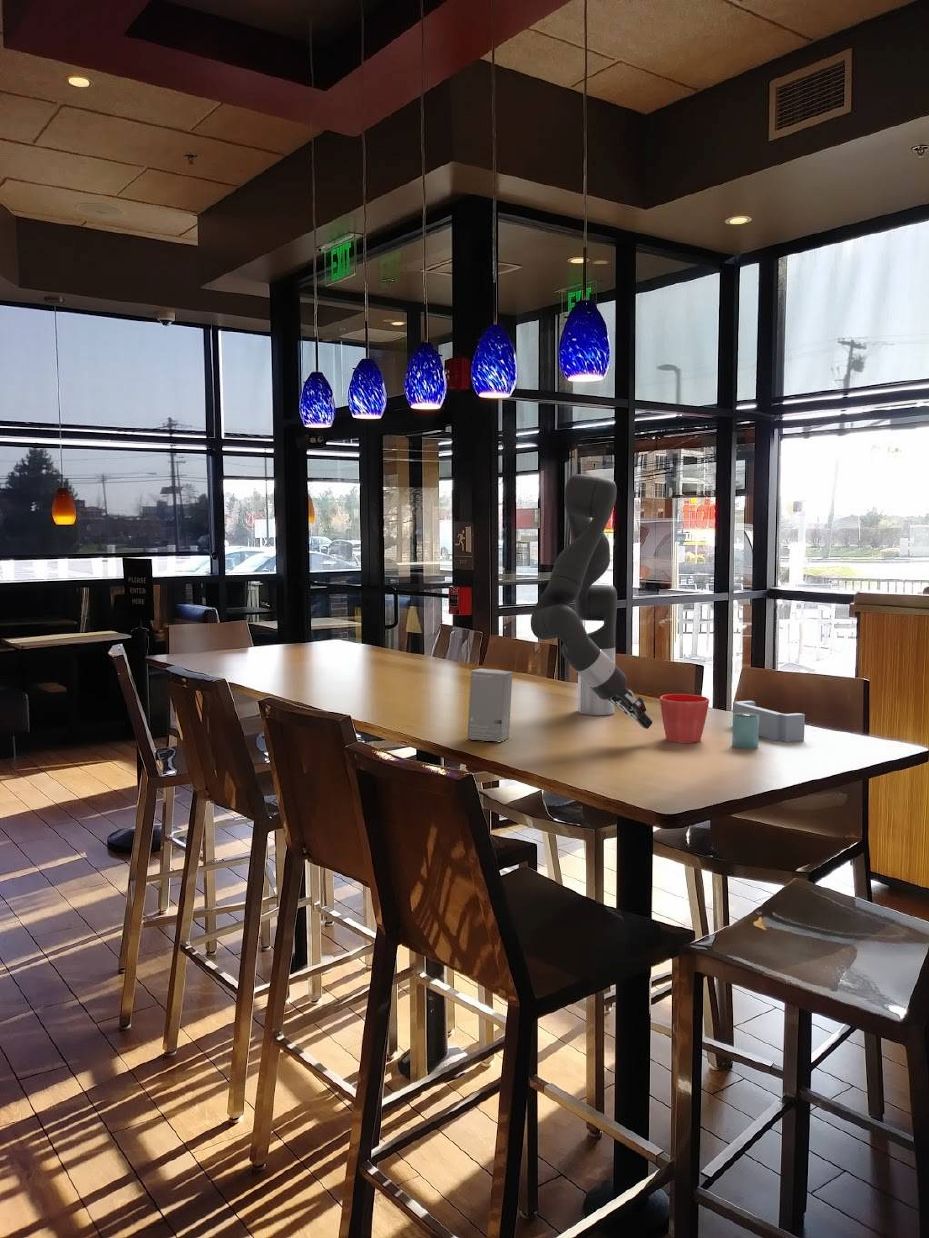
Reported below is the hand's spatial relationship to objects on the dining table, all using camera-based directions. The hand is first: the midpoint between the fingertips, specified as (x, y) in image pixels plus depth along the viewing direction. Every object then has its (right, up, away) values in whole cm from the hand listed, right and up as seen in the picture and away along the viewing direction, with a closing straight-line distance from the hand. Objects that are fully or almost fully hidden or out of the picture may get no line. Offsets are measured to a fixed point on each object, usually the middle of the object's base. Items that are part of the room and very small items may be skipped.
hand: (648, 725), depth 225 cm
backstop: (+29, -3, +11) cm, 32 cm away
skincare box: (-35, -4, +3) cm, 36 cm away
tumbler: (+21, -4, -3) cm, 21 cm away
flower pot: (+9, -4, +4) cm, 10 cm away
